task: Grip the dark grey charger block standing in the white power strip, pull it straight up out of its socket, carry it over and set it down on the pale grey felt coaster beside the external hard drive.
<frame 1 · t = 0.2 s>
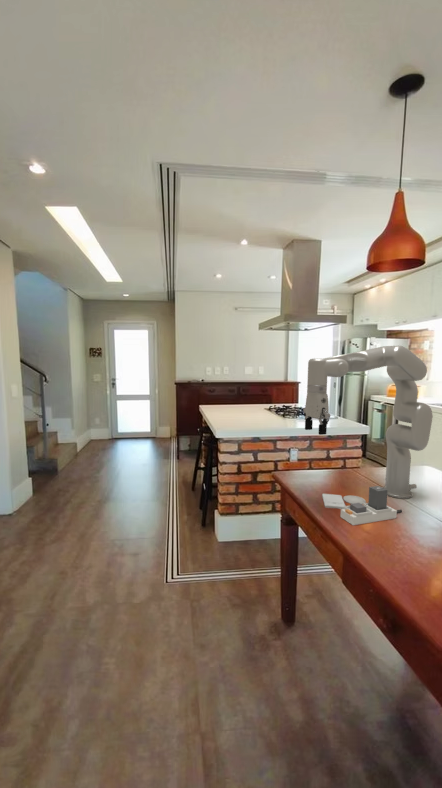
hand: (315, 431, 136), 31 cm above the table, tool pointing down, fingers open, 9 cm apart
power strip: (368, 517, 129), on the table
charger: (377, 508, 130), point 3 cm above the table, touching power strip
external hard drive: (333, 503, 143), on the table
coaster: (354, 500, 145), on the table
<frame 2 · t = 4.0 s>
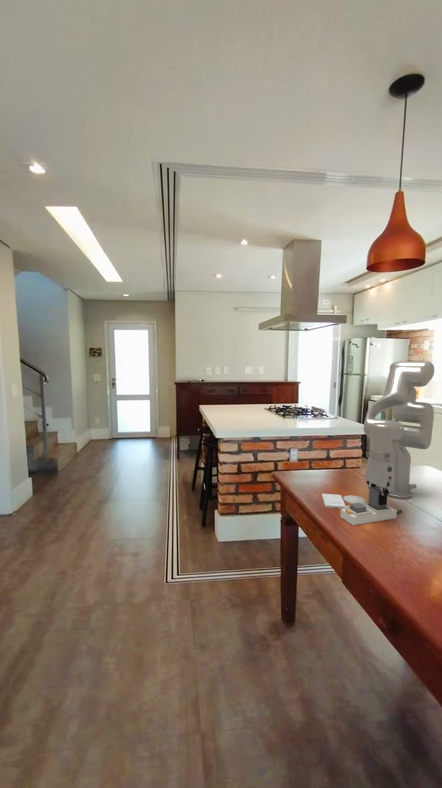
hand: (377, 501, 129), 6 cm above the table, tool pointing down, fingers closed on charger, 4 cm apart
charger: (377, 508, 130), point 3 cm above the table, touching gripper, power strip
everything else where it was.
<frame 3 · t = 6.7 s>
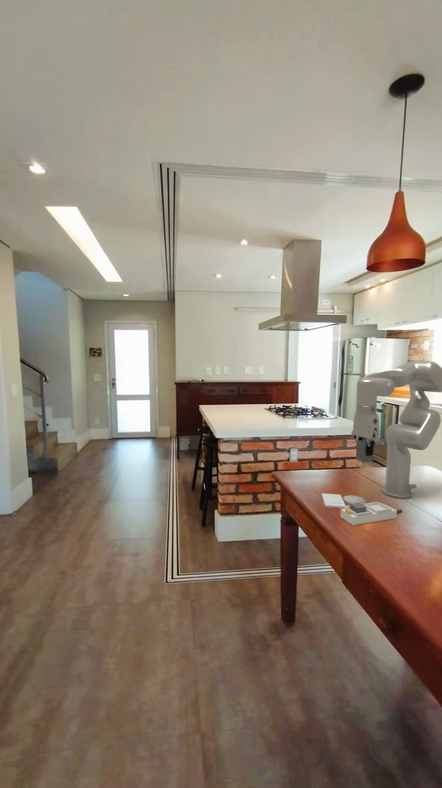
hand: (364, 453, 138), 22 cm above the table, tool pointing down, fingers closed on charger, 4 cm apart
charger: (364, 460, 138), point 19 cm above the table, touching gripper
everything else where it was.
when the fingers open (5 cm above the table, at t = 9.8 s): charger drops 2 cm, resting on coaster.
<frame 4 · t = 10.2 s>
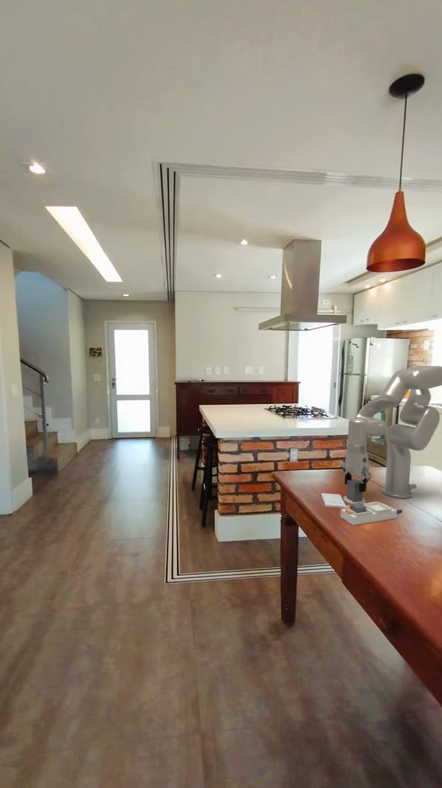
hand: (354, 487, 144), 6 cm above the table, tool pointing down, fingers open, 8 cm apart
charger: (354, 499, 145), resting on coaster
everything else where it was.
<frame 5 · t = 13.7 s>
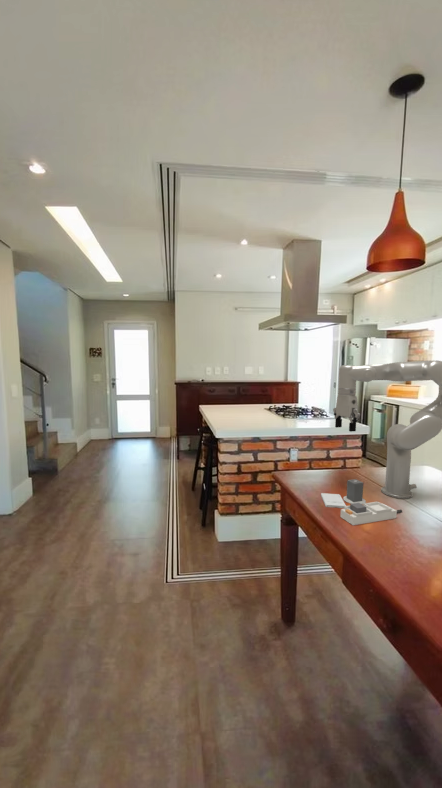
hand: (345, 429, 156), 28 cm above the table, tool pointing down, fingers open, 9 cm apart
nothing on the table moved.
at the end: charger 0.0 cm from the coaster (horizontally); charger resting on coaster; charger tilted 0° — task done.
